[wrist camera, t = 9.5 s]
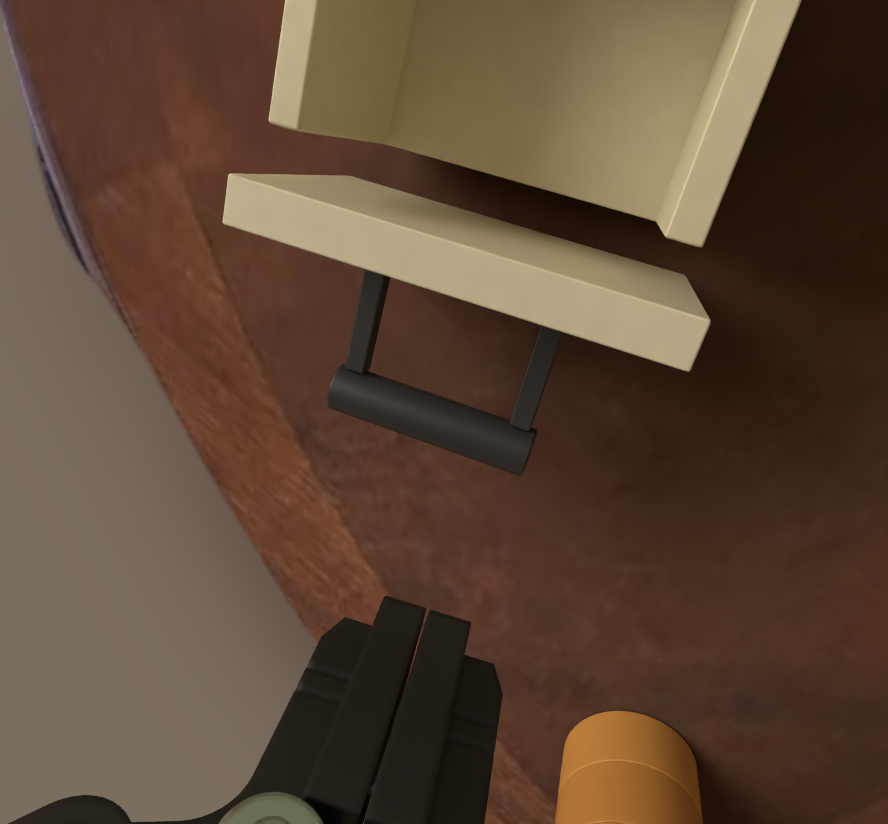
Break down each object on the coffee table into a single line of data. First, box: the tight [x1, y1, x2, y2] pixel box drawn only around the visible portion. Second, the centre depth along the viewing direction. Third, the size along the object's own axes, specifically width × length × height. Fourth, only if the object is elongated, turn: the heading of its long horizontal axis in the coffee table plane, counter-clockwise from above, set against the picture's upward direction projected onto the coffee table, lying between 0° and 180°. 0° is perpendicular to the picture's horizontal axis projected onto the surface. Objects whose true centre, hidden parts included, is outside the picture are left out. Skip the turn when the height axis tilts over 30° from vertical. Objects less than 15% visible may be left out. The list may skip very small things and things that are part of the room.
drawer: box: [223, 0, 802, 476], centre depth 17 cm, size 18×11×7 cm, turn 165°
